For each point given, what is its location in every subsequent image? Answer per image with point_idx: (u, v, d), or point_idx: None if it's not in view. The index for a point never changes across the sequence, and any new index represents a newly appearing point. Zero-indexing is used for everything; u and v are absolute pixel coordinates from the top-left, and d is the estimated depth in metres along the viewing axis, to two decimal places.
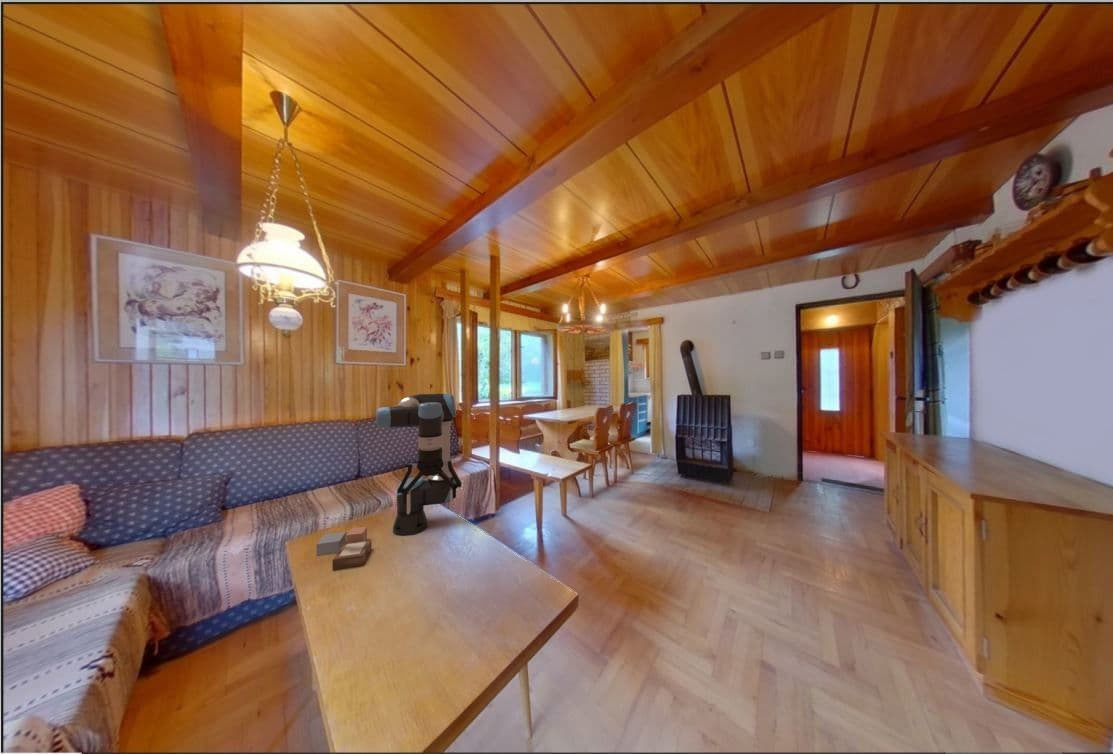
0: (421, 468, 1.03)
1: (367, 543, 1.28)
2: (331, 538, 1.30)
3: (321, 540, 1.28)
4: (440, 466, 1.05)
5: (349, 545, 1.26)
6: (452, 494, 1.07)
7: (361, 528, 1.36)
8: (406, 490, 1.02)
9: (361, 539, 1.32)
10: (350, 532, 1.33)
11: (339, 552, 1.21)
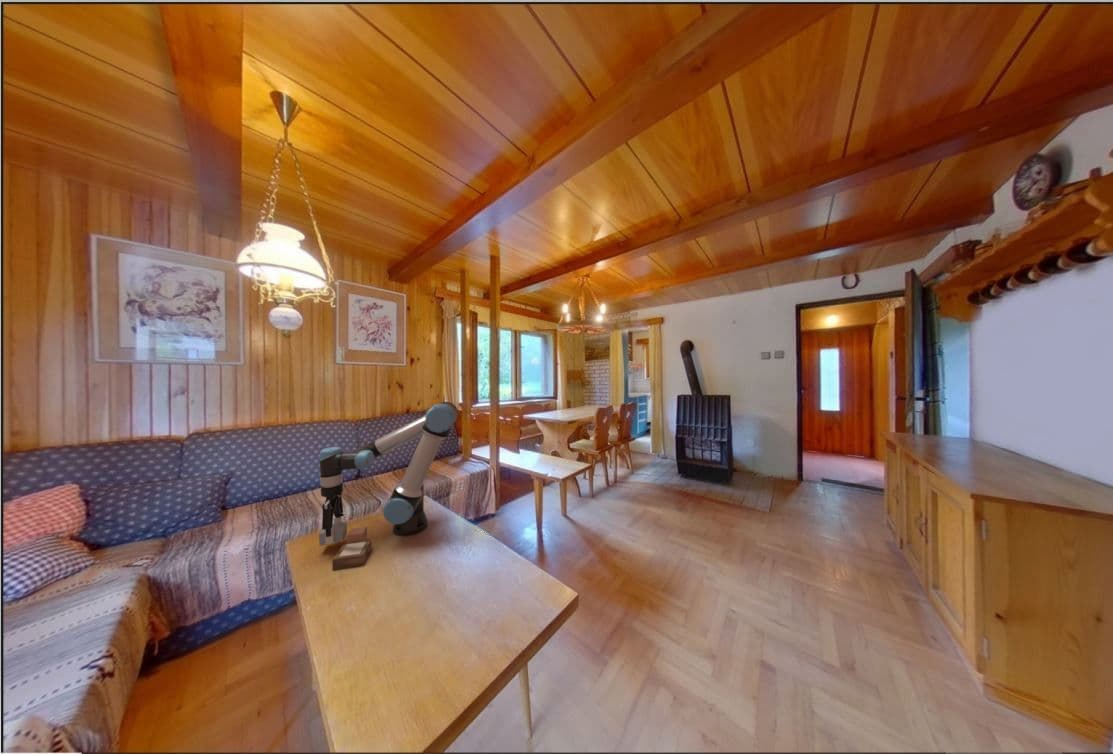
0: None
1: (367, 543, 1.28)
2: (333, 528, 1.30)
3: (323, 530, 1.28)
4: None
5: (349, 545, 1.26)
6: (325, 532, 1.26)
7: (361, 528, 1.36)
8: None
9: (361, 539, 1.32)
10: (350, 532, 1.33)
11: (339, 552, 1.21)
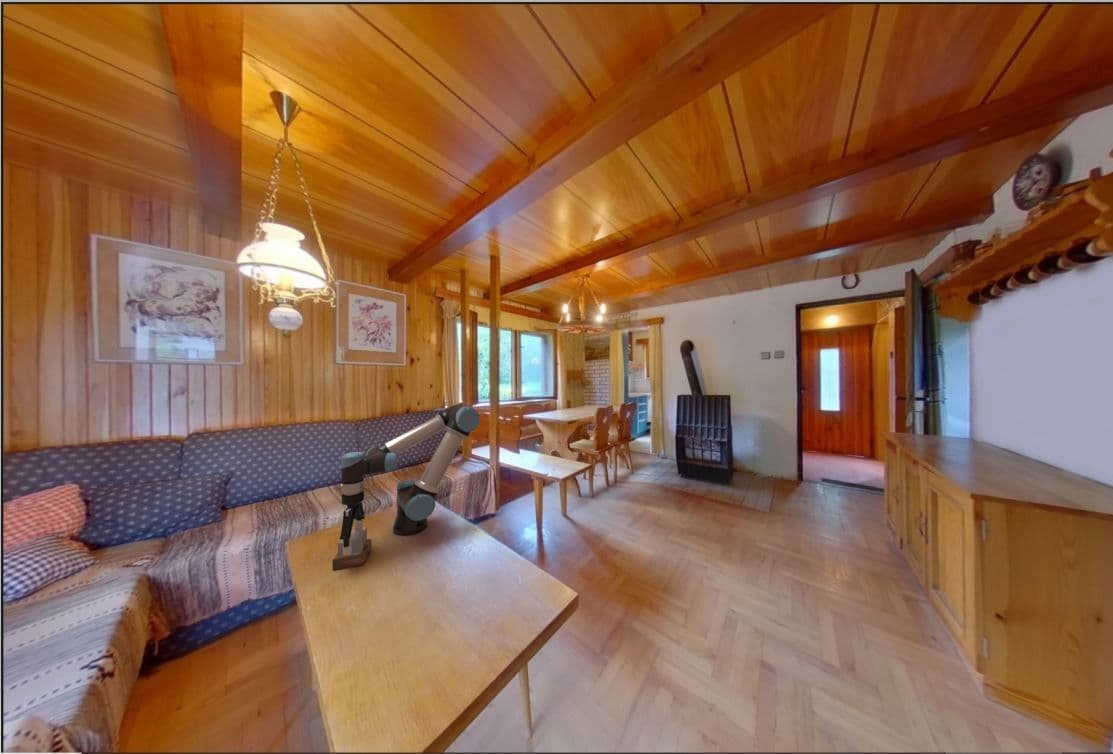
0: None
1: (367, 543, 1.28)
2: (352, 537, 1.22)
3: None
4: None
5: None
6: (343, 542, 1.16)
7: None
8: None
9: None
10: None
11: None
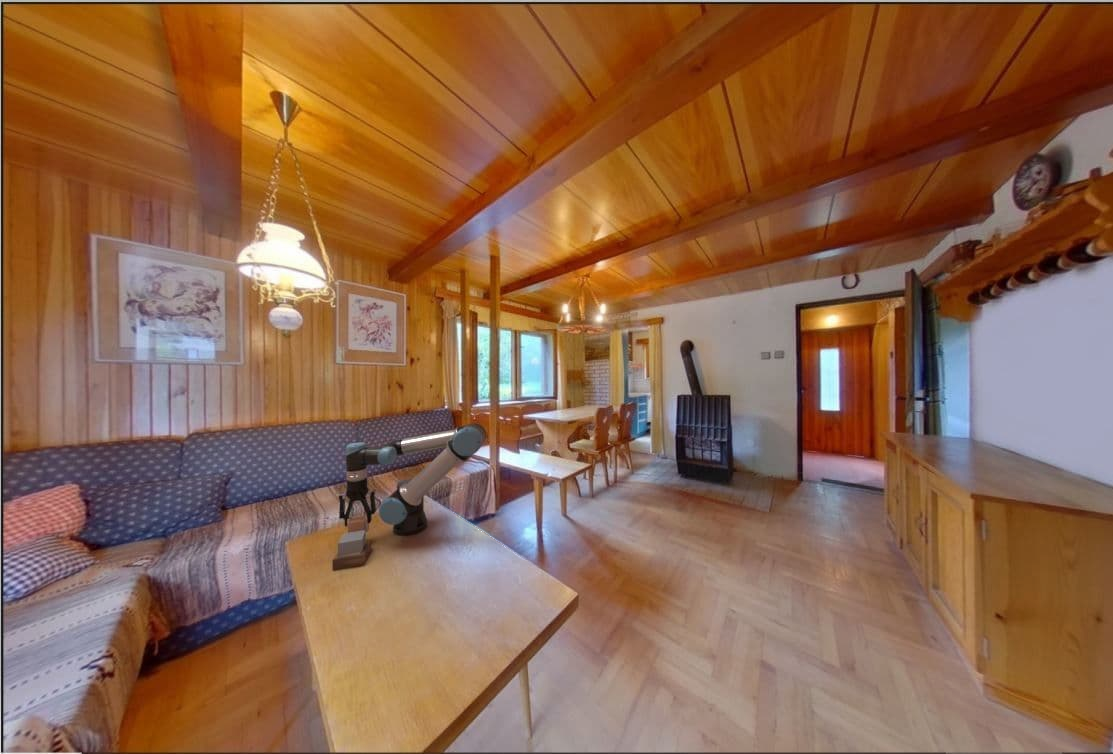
0: (349, 495, 1.32)
1: (367, 543, 1.28)
2: (352, 537, 1.22)
3: (341, 539, 1.21)
4: (365, 493, 1.34)
5: None
6: (367, 520, 1.34)
7: (362, 517, 1.36)
8: (346, 516, 1.32)
9: (362, 527, 1.32)
10: (351, 520, 1.33)
11: None
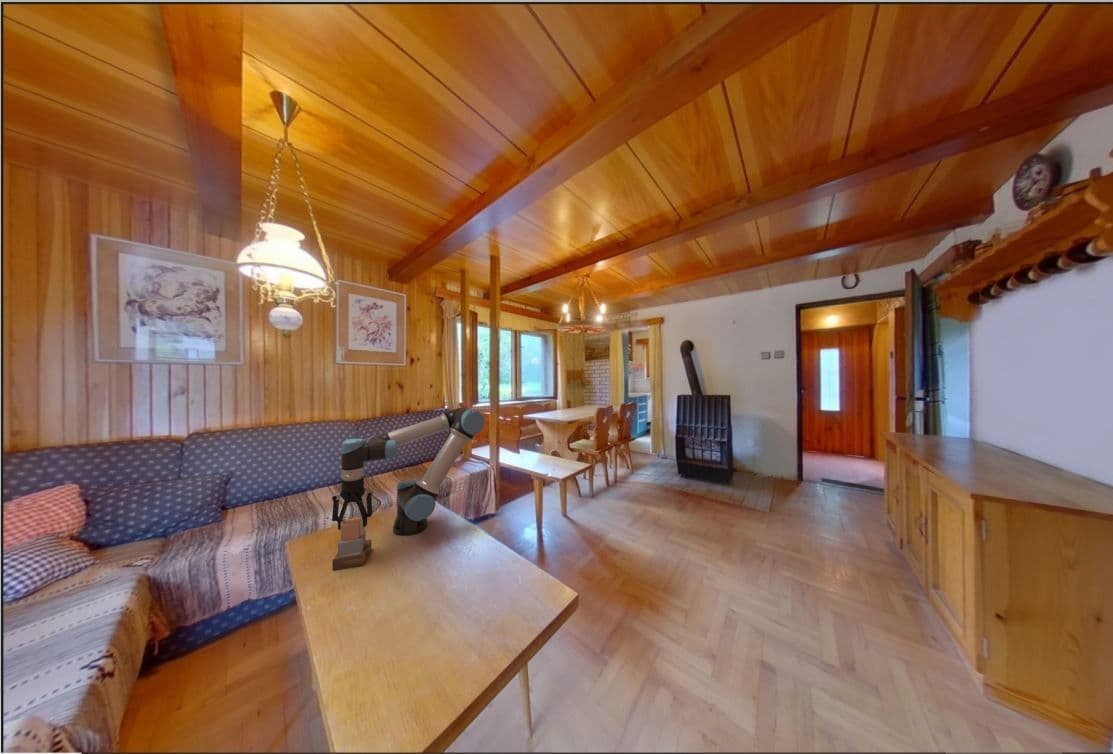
0: (344, 496, 1.21)
1: (367, 543, 1.28)
2: None
3: None
4: (361, 494, 1.23)
5: None
6: (362, 523, 1.23)
7: (357, 519, 1.25)
8: (339, 518, 1.21)
9: (357, 530, 1.21)
10: (345, 523, 1.22)
11: None
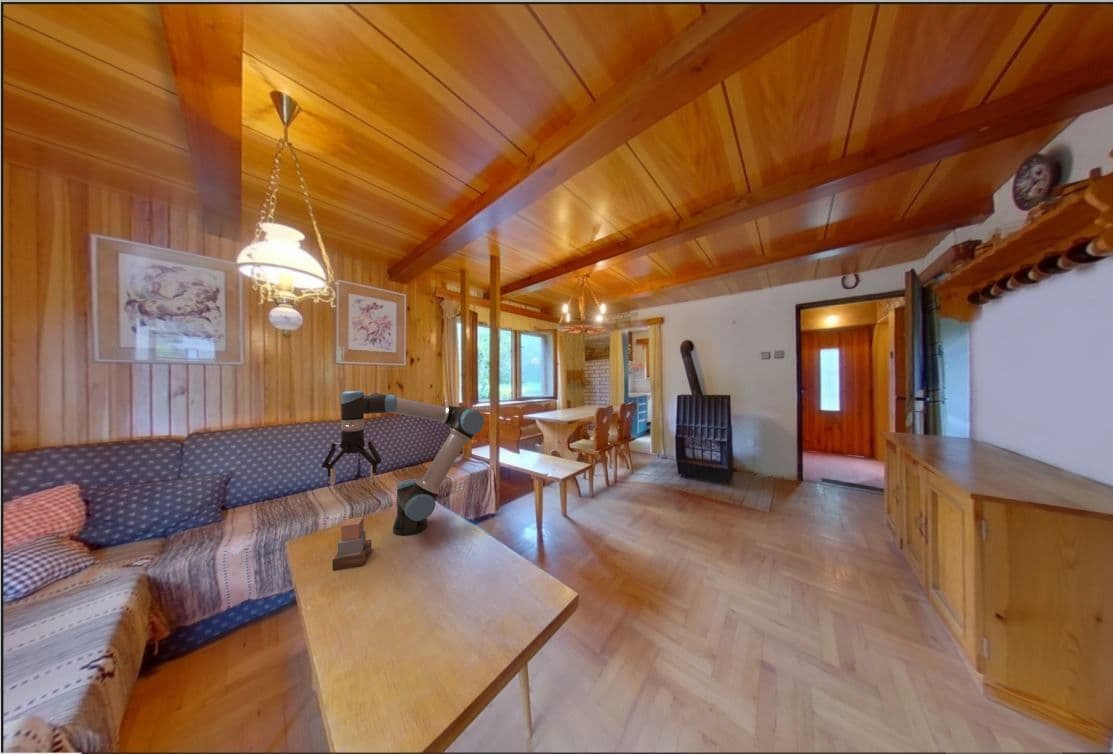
0: (343, 446, 1.21)
1: (367, 543, 1.28)
2: None
3: None
4: (361, 445, 1.23)
5: None
6: (372, 469, 1.24)
7: (357, 519, 1.25)
8: (330, 465, 1.20)
9: (357, 530, 1.21)
10: (345, 523, 1.22)
11: None
